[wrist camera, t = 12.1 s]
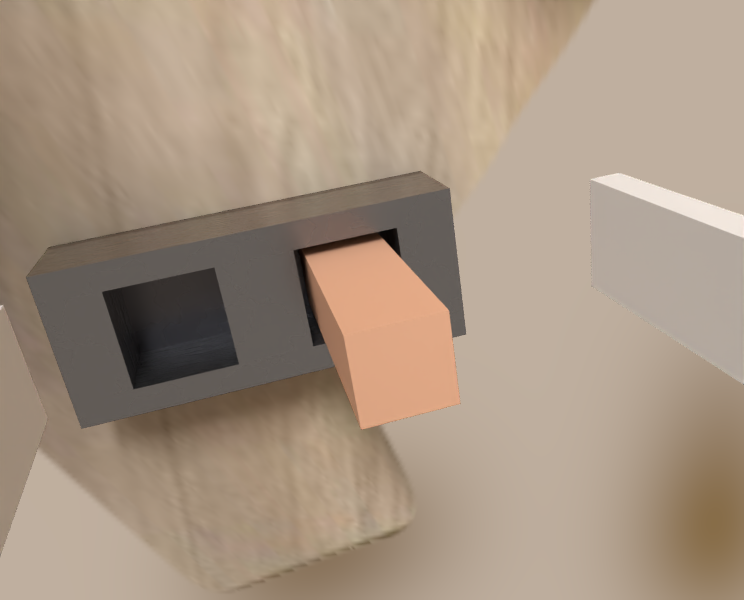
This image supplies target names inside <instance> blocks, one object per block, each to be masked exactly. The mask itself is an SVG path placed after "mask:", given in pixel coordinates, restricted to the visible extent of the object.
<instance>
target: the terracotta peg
mask: <svg viewBox="0 0 744 600" xmlns="http://www.w3.org/2000/svg"><path fill="white" fill-rule="evenodd" d="M298 251H299V256H300V261H301V265H302V270H303V275H304V280H305V285H306V290H307V295H308V300H309V304H310V306H311V309H312V311H313V314H314V316H315V319H316V321H317V323H318V326H319V328H320V331H321V333H322V336H323V338H324V341H325V343H326V345H327V348H328V350H329V353H330V355H331V358H332V360H333V362H334V365H335V367H336V370H337V372H338V375H339V377H340V379H341V382H342V384H343V387H344V389H345V392H346V394H347V397H348V399H349V401H350V404H351V406H352V409H353V411H354V414H355V416H356V418H357V421H358V423H359V426H360V428H361V430H362V429H366V428H370V427H374V426H377V425H381V424H385V423H389V422H393V421H397V420H400V419H404V418H408V417H412V416H416V415H420V414H423V413H427V412H431V411H434V410H439V409H443V408H446V407H450V406H454V405H457V404H460V396H459V388H458V380H457V372H456V364H455V355H454V347H453V339H452V331H451V323H450V314H449V310H448V309H447V308H446V307H445V305H444V304H443V303H442V302H441V301H440V300H439V299H438V298H437V297H436V296H435V295H434V294H433V292H432V291H431V290H430V289H429V288H428V287H427V286H426V285H425V284H424V283H423V282H422V281H421V279H420V278H419V277H418V276H417V275H416V274H415V273H414V272H413V271H412V270H411V269H410V268H409V266H408V265H407V264H406V263H405V262H404V261H403V260H402V259H401V258H400V257H399V256H398V255H397V253H396V252H395V251H394V250H393V249H392V248H391V247H390V246H389V245H388V244H387V243H386V242H385V240H384V239H383V238H382V237H381V236H380V235H379V234H378V233H377V232H375V233H370V234H366V235H361V236H357V237H352V238H347V239H343V240H338V241H334V242H329V243H324V244H320V245H315V246H311V247H306V248H301V249H298Z"/></svg>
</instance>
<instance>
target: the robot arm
mask: <svg viewBox="0 0 744 600" xmlns="http://www.w3.org/2000/svg"><path fill="white" fill-rule="evenodd" d="M590 216H591V267H592V268H591V270H592V271H591V272H592V287H593V288H595V289H596V290H598V291H599V292H601V293H603V294H604V295H606V296H607V297H609V298H610V299H612V300H613V301H615V302H617V303H618V304H620V305H621V306H623V307H624V308H626V309H627V310H629V311H631V312H632V313H634V314H635V315H637V316H638V317H640V318H641V319H643V320H644V321H646V322H648V323H649V324H651V325H652V326H654V327H655V328H657V329H658V330H660V331H661V332H663V333H665V334H666V335H668V336H669V337H671V338H672V339H674V340H675V341H677V342H678V343H680V344H682V345H683V346H685V347H686V348H688V349H689V350H691V351H692V352H694V353H695V354H697V355H699V356H700V357H702V358H703V359H705V360H706V361H708V362H709V363H711V364H713V365H714V366H716V367H717V368H719V369H720V370H722V371H723V372H725V373H727V374H728V375H730V376H731V377H733V378H734V379H736V380H737V381H739V382H740V383H742V384H744V216H743V215H741V214H737V213H735V212H732V211H729V210H726V209H723V208H720V207H717V206H714V205H711V204H708V203H706V202H703V201H700V200H697V199H694V198H691V197H688V196H685V195H682V194H679V193H676V192H673V191H670V190H668V189H665V188H662V187H659V186H656V185H653V184H650V183H647V182H644V181H641V180H638V179H636V178H633V177H630V176H627V175H624V174H621V173H617V174H612V175H607V176H602V177H598V178H593V179H590ZM47 421H48V418H47V415H46V413H45V410H44V408H43V405H42V402H41V400H40V397H39V395H38V392H37V390H36V387H35V385H34V382H33V379H32V377H31V374H30V372H29V369H28V367H27V364H26V362H25V359H24V356H23V354H22V351H21V349H20V346H19V344H18V341H17V338H16V336H15V333H14V331H13V328H12V326H11V323H10V321H9V318H8V315H7V313H6V310H5V308H4V305H3V306H0V555H1V553H2V550H3V547H4V544H5V541H6V538H7V535H8V532H9V530H10V527H11V524H12V521H13V518H14V515H15V512H16V510H17V506H18V504H19V501H20V498H21V495H22V492H23V489H24V487H25V483H26V481H27V478H28V475H29V472H30V469H31V467H32V463H33V461H34V458H35V455H36V452H37V449H38V446H39V444H40V441H41V438H42V435H43V432H44V429H45V426H46V423H47Z"/></svg>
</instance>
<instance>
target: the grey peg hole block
mask: <svg viewBox="0 0 744 600" xmlns="http://www.w3.org/2000/svg"><path fill="white" fill-rule="evenodd" d="M453 224H454V223H453V215H452V206H451V197H450V188H448V187H446V186H445V185H443V184H441V183H440V182H438V181H436V180H435V179H433V178H431V177H429V176H428V175H426V174H424V173H423V172H421V171H418V172H414V173H409V174H404V175H399V176H394V177H389V178H384V179H379V180H375V181H370V182H365V183H360V184H355V185H350V186H345V187H340V188H336V189H331V190H326V191H321V192H316V193H311V194H306V195H301V196H297V197H292V198H287V199H282V200H277V201H272V202H267V203H262V204H258V205H253V206H248V207H243V208H238V209H233V210H228V211H223V212H219V213H214V214H209V215H204V216H199V217H194V218H189V219H184V220H180V221H175V222H170V223H165V224H160V225H155V226H150V227H145V228H141V229H136V230H131V231H126V232H121V233H116V234H111V235H106V236H102V237H97V238H92V239H87V240H82V241H77V242H72V243H67V244H63V245H58V246H53V247H49V248H48V249H47V250H46V252H45V253H44V254H43V256H42V257H41V258H40V260H39V261H38V262H37V264H36V265H35V266H34V268H33V269H32V270H31V272H30V273H29V274H28V276H27V277H26V279H27V281H28V284H29V287H30V289H31V292H32V295H33V298H34V300H35V303H36V306H37V309H38V311H39V314H40V317H41V319H42V322H43V325H44V328H45V330H46V333H47V336H48V339H49V341H50V344H51V347H52V349H53V352H54V355H55V358H56V360H57V363H58V366H59V369H60V371H61V374H62V377H63V379H64V382H65V385H66V388H67V390H68V393H69V396H70V399H71V401H72V404H73V407H74V409H75V412H76V415H77V418H78V420H79V423H80V426H81V429H82V428H86V427H91V426H95V425H99V424H103V423H107V422H111V421H115V420H119V419H123V418H127V417H131V416H135V415H139V414H144V413H148V412H152V411H156V410H160V409H164V408H168V407H172V406H176V405H180V404H184V403H188V402H192V401H197V400H201V399H205V398H209V397H213V396H217V395H221V394H225V393H229V392H233V391H237V390H241V389H245V388H249V387H254V386H258V385H262V384H266V383H270V382H274V381H278V380H282V379H286V378H290V377H294V376H298V375H302V374H307V373H311V372H315V371H319V370H323V369H327V368H331V367H335V365H334V362H333V360H332V358H331V355H330V353H329V350H328V348H327V345H326V343H325V341H324V338H323V336H322V333H321V331H320V328H319V326H318V323H317V321H316V319H315V316H314V314H313V311H312V309H311V306H310V304H309V300H308V295H307V290H306V285H305V280H304V275H303V270H302V265H301V261H300V256H299V251H298V249H301V248H306V247H311V246H315V245H320V244H324V243H329V242H334V241H338V240H343V239H347V238H352V237H357V236H361V235H366V234H370V233H375V232H377V233H378V234H379V235H380V236H381V237H382V238H383V239H384V240H385V242H386V243H387V244H388V245H389V246H390V247H391V248H392V249H393V250H394V251H395V252H396V253H397V255H398V256H399V257H400V258H401V259H402V260H403V261H404V262H405V263H406V264H407V265H408V266H409V268H410V269H411V270H412V271H413V272H414V273H415V274H416V275H417V276H418V277H419V278H420V279H421V281H422V282H423V283H424V284H425V285H426V286H427V287H428V288H429V289H430V290H431V291H432V292H433V294H434V295H435V296H436V297H437V298H438V299H439V300H440V301H441V302H442V303H443V304H444V305H445V307H446V308H447V309H448V310H449V314H450V323H451V331H452V338H453V337H457V336H461V335H465V334H466V329H465V320H464V311H463V303H462V294H461V285H460V276H459V267H458V258H457V250H456V242H455V233H454V225H453Z"/></svg>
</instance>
